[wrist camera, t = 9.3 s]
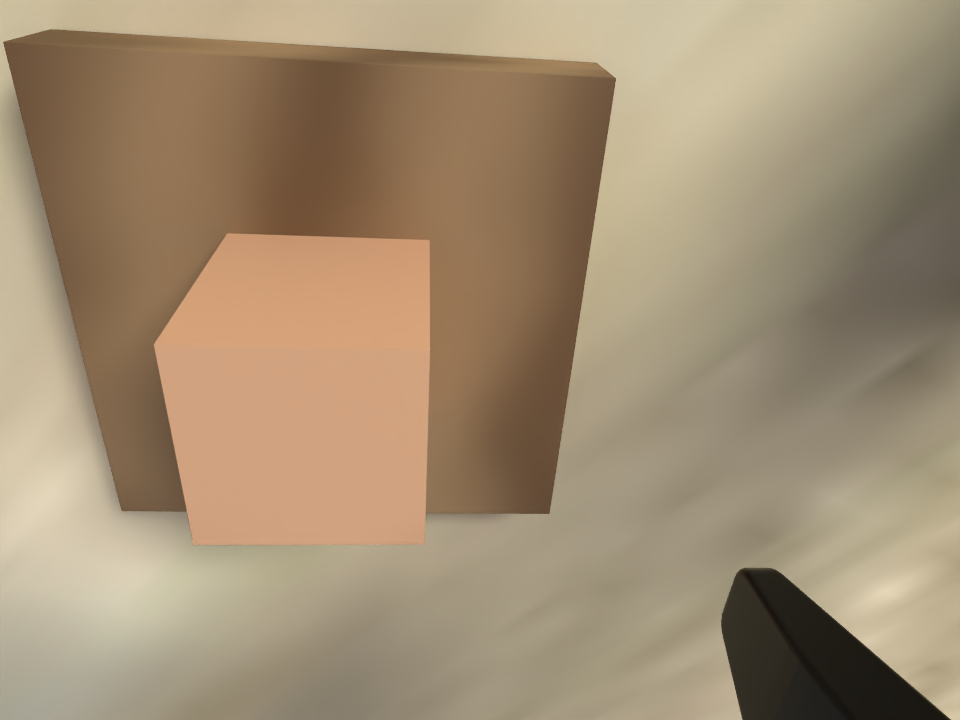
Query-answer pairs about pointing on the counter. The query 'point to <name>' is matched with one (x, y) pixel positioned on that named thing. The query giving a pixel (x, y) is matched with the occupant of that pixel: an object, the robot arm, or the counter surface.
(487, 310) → the walnut base
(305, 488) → the terracotta block
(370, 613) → the counter surface
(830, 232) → the counter surface
